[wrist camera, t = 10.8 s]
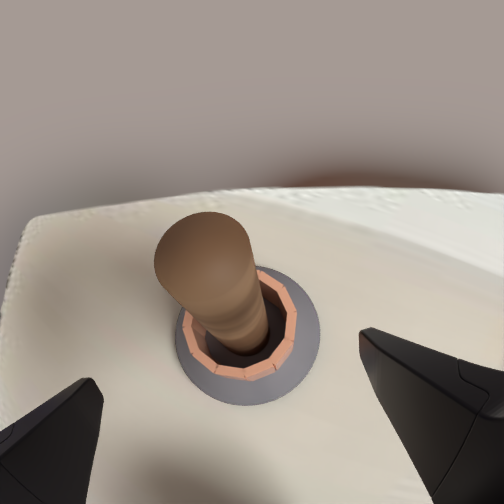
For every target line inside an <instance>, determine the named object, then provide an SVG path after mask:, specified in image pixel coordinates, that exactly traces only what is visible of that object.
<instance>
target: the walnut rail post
mask: <svg viewBox="0 0 504 504" xmlns="http://www.w3.org/2000/svg"><path fill="white" fill-rule="evenodd" d="M154 267H155V273H156V276H157V278H158V280H159V282H160V283H161V285H162V286H163V287H164V288H165V289H166V290H167V291H168V293H169V294H170V295H171V296H172V297H173V298H174V299H175V300H176V301H177V302H178V303H179V304H180V305H182V306H183V307H184V308H185V309H186V310H187V311H188V312H189V313H190V314H191V315H192V316H193V317H194V318H195V319H196V320H197V321H198V322H199V323H200V324H201V325H202V326H203V327H204V328H205V329H206V330H208V331H209V332H210V333H211V334H212V335H213V336H214V337H215V338H216V339H217V340H218V341H219V342H221V343H222V344H223V345H224V346H225V347H226V348H227V349H228V350H229V351H231V352H232V353H234V354H236V355H238V356H245V357H246V356H253V355H255V354H257V353H259V352H261V351H262V350H263V349H264V348H265V347H266V345H267V343H268V341H269V338H270V327H269V323H268V319H267V314H266V310H265V305H264V301H263V297H262V292H261V288H260V284H259V279H258V275H257V271H256V266H255V262H254V258H253V253H252V249H251V245H250V240H249V237H248V235H247V233H246V231H245V229H244V228H243V227H242V225H241V224H240V223H239V222H237V221H236V220H235V219H233V218H232V217H230V216H228V215H225V214H222V213H217V212H201V213H196V214H192V215H190V216H187V217H185V218H183V219H181V220H179V221H178V222H176V223H175V224H174V225H172V226H171V227H170V228H169V229H168V230H167V231H166V233H165V234H164V235H163V237H162V238H161V240H160V242H159V244H158V246H157V249H156V252H155V258H154Z"/></svg>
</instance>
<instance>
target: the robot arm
mask: <svg viewBox="0 0 504 504" xmlns="http://www.w3.org/2000/svg"><path fill="white" fill-rule="evenodd" d="M359 353H360V358H361V360H362V363H363V365H364V367H365V370H366V372H367V375H368V377H369V380H370V382H371V384H372V387H373V389H374V392H375V394H376V396H377V398H378V400H379V402H380V404H381V405H382V407H383V409H384V411H385V413H386V414H387V416H388V418H389V420H390V421H391V423H392V425H393V427H394V429H395V431H396V432H397V434H398V436H399V438H400V440H401V442H402V443H403V445H404V447H405V449H406V451H407V453H408V454H409V456H410V458H411V460H412V462H413V464H414V466H415V468H416V470H417V471H418V473H419V475H420V477H421V479H422V481H423V483H424V485H425V487H426V489H427V491H428V493H429V495H430V497H432V498H431V499H432V501H433V503H434V504H504V371H500V370H496V369H492V368H488V367H484V366H480V365H477V364H474V363H470V362H467V361H464V360H462V359H458V360H457V358H456V357H453V356H450V355H447V354H444V353H441V352H438V351H436V350H433V349H430V348H427V347H424V346H422V345H419V344H416V343H413V342H410V341H408V340H405V339H402V338H400V337H397V336H394V335H391V334H389V333H386V332H383V331H381V330H378V329H375V328H372V327H370V328H367V329H364V330H361V331H360V332H359ZM103 403H104V398H103V395H102V393H101V391H100V390H99V388H98V386H97V385H96V383H95V381H94V380H93V379H92V378H81V379H79V380H78V381H76V382H75V383H73V384H72V385H70V386H69V387H67V388H66V389H64V390H63V391H61V392H60V393H58V394H57V395H55V396H54V397H52V398H51V399H49V400H48V401H46V402H45V403H43V404H42V405H40V406H39V407H37V408H36V409H34V410H33V411H31V412H30V413H28V414H27V415H25V416H24V417H22V418H20V419H19V420H17V421H16V422H15V423H13V424H11V425H10V426H8V427H7V428H5V429H3V430H2V431H0V504H86V498H87V492H88V486H89V480H90V475H91V470H92V465H93V460H94V455H95V451H96V446H97V442H98V437H99V431H100V424H101V416H102V410H103Z"/></svg>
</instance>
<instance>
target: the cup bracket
mask: <svg viewBox="0 0 504 504" xmlns="http://www.w3.org/2000/svg"><path fill="white" fill-rule="evenodd" d="M256 271H257V275H258V279H259V284H260V288H261V292H262V297H263V301H264V305H265V310H266V314H267V319H268V323H269V327H270V338H269V341H268V343H267V345H266V347H265V348H264V349H263V350H262V351H261V352H259V353H257V354H255V355H253V356H246V357H245V356H238V355H236V354H234V353H232V352H231V351H229V350H228V349H227V348H226V347H225V346H224V345H223V344H222V343H221V342H219V341H218V340H217V339H216V338H215V337H214V336H213V335H212V334H211V333H210V332H209V331H208V330H206V329H205V328H204V327H203V326H202V325H201V324H200V323H199V322H198V321H197V320H196V319H195V318H194V317H193V316H192V315H191V314H190V313H189V312H188V311H187V310H186V309H185V308H184V307H182V309H181V312H180V314H179V317H178V321H177V325H176V334H175V342H176V350H177V354H178V358H179V360H180V363H181V365H182V368H183V369H184V371H185V373H186V375H187V376H188V377H189V378H190V380H191V381H192V382H193V383H194V384H195V385H196V386H197V387H198V388H199V389H200V390H202V391H203V392H204V393H206V394H207V395H209V396H211V397H212V398H214V399H217V400H219V401H222V402H224V403H229V404H233V405H242V406H249V405H259V404H264V403H268V402H271V401H274V400H276V399H278V398H280V397H282V396H284V395H286V394H287V393H289V392H290V391H292V390H293V389H294V388H295V387H296V386H297V385H299V384H300V382H301V381H302V380H303V379H304V378H305V377H306V375H307V374H308V372H309V371H310V369H311V367H312V365H313V363H314V361H315V359H316V356H317V353H318V349H319V343H320V325H319V319H318V315H317V312H316V310H315V307H314V305H313V303H312V301H311V299H310V298H309V296H308V295H307V294H306V292H305V291H304V290H303V289H302V288H301V287H300V286H299V285H298V284H297V283H296V282H295V281H293V280H292V279H291V278H289V277H288V276H286V275H284V274H282V273H280V272H278V271H275V270H273V269H269V268H265V267H259V266H256Z"/></svg>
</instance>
